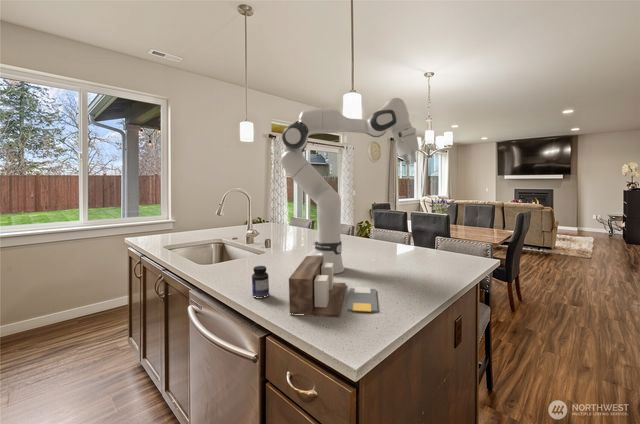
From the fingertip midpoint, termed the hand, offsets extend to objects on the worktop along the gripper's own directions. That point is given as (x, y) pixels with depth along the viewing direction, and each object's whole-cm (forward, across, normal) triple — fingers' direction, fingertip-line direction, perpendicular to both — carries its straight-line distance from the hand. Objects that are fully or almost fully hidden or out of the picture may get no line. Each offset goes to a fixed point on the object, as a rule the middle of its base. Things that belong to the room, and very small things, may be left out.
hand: (410, 163), depth 139 cm
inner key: (+37, +24, -52) cm, 68 cm away
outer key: (+37, +40, -54) cm, 77 cm away
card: (+42, +34, -40) cm, 67 cm away
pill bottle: (+32, +28, -77) cm, 88 cm away
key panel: (+38, +31, -56) cm, 74 cm away
